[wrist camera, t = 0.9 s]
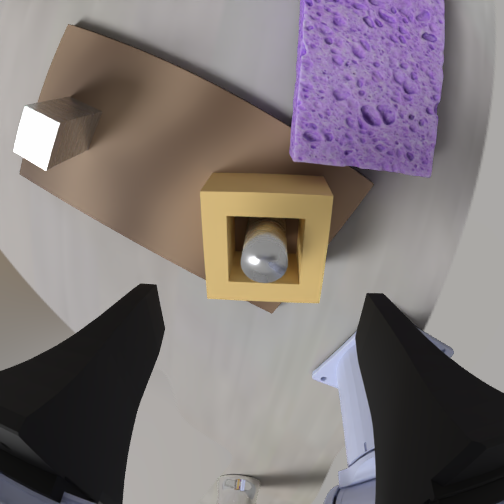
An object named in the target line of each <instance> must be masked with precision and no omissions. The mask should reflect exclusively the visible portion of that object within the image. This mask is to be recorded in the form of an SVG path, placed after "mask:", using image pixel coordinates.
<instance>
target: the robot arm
mask: <svg viewBox="0 0 504 504" xmlns="http://www.w3.org/2000/svg"><path fill="white" fill-rule="evenodd" d="M164 331H165V326H164V321H163V316H162V311H161V306H160V301H159V296H158V291H157V285H154V284H139V285H138V286H136V287H135V288H134V289H132V290H131V291H130V292H129V293H127V294H126V295H125V296H124V297H123V298H121V299H120V300H119V301H118V302H116V303H115V304H114V305H113V306H111V307H110V308H109V309H108V310H106V311H105V312H104V313H103V314H101V315H100V316H99V317H98V318H96V319H95V320H93V321H92V322H91V323H89V324H88V325H87V326H85V327H84V328H83V329H81V330H80V331H79V332H77V333H76V334H74V335H73V336H71V337H70V338H68V339H66V340H65V341H63V342H62V343H60V344H58V345H57V346H55V347H53V348H51V349H49V350H47V351H45V352H43V353H42V354H40V355H38V356H36V357H34V358H32V359H30V360H28V361H25V362H23V363H21V364H18V365H16V366H13V367H11V368H8V369H5V370H2V371H0V504H122V500H123V489H124V479H125V471H126V464H127V457H128V451H129V446H130V440H131V435H132V431H133V427H134V423H135V418H136V414H137V411H138V407H139V404H140V401H141V398H142V396H143V393H144V391H145V388H146V385H147V383H148V380H149V378H150V375H151V373H152V370H153V368H154V365H155V362H156V360H157V357H158V355H159V352H160V348H161V344H162V340H163V335H164ZM453 354H454V351H453V349H452V348H451V347H449V346H447V345H446V344H444V343H442V342H441V341H439V340H437V339H436V338H434V337H432V336H430V335H429V334H427V333H425V332H424V331H422V330H420V329H419V328H417V327H416V326H415V325H414V324H413V323H412V322H411V321H410V320H409V319H408V318H407V317H406V316H405V315H404V314H403V313H402V312H401V311H400V310H399V309H398V308H397V307H396V306H395V305H394V304H393V303H392V302H391V301H390V300H389V299H388V298H387V297H386V296H385V295H384V294H383V293H367V294H366V298H365V302H364V306H363V310H362V313H361V317H360V321H359V325H358V328H357V331H356V332H355V333H354V334H353V335H352V336H351V337H350V338H349V339H348V340H347V341H346V342H345V343H344V344H343V345H342V346H341V347H340V348H339V349H337V350H336V351H335V352H334V353H333V354H332V355H331V356H330V357H329V358H328V359H327V360H326V361H324V362H323V363H322V364H321V365H320V366H319V367H318V368H317V369H316V370H314V371H313V373H312V378H313V379H314V380H317V381H319V382H322V383H324V384H327V385H330V386H332V387H335V388H338V390H339V397H340V404H341V412H342V420H343V428H344V436H345V444H346V453H347V463H348V468H346V469H344V470H341V471H339V472H338V476H339V485H337V486H335V487H333V488H332V489H331V490H330V491H329V493H328V494H327V496H326V498H325V501H324V503H323V504H504V393H502V392H500V391H499V390H497V389H495V388H493V387H491V386H489V385H488V384H486V383H485V382H483V381H481V380H480V379H478V378H477V377H475V376H474V375H472V374H471V373H469V372H468V371H466V370H465V369H464V368H462V367H461V366H459V365H458V364H457V363H456V362H455V361H453V360H452V359H451V358H450V357H452V355H453Z"/></svg>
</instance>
